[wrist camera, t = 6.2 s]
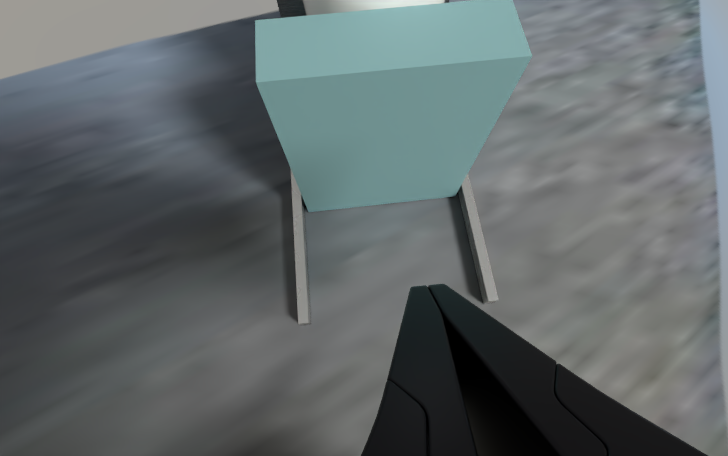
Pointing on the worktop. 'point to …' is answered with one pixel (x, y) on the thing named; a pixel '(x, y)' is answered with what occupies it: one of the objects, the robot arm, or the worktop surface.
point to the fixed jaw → (293, 7)
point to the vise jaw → (388, 96)
